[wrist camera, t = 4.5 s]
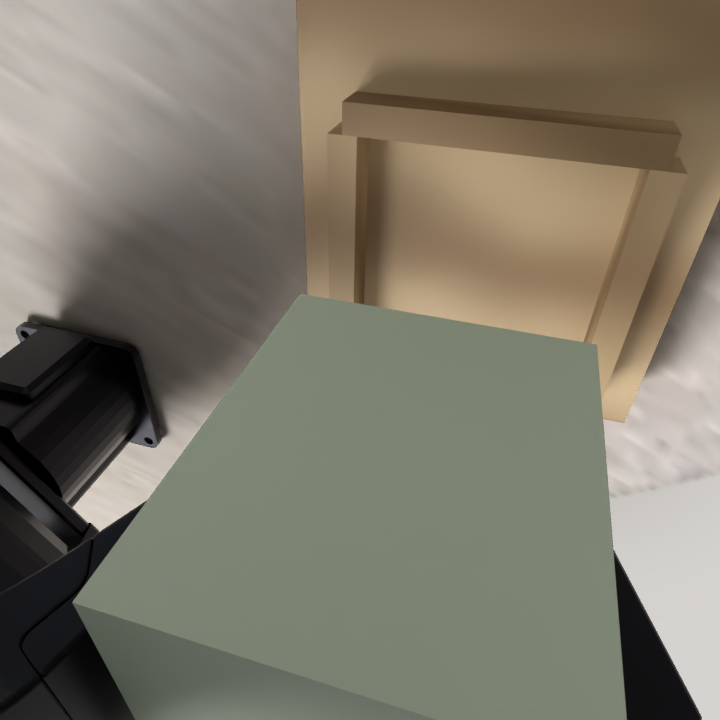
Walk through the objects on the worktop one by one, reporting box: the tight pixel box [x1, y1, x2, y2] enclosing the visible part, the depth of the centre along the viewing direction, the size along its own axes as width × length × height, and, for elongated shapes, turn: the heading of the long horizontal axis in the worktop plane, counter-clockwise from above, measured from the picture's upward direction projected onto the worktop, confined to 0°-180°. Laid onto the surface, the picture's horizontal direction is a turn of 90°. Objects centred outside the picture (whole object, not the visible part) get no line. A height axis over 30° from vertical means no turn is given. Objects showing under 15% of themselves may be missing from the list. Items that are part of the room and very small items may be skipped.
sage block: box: [72, 294, 627, 720], centre depth 9 cm, size 5×5×6 cm
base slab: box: [296, 0, 720, 423], centre depth 12 cm, size 22×11×6 cm, turn 178°
